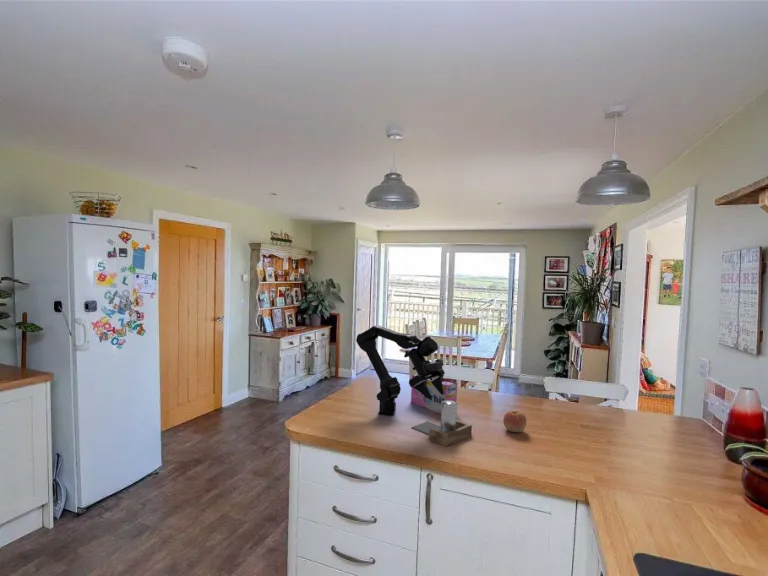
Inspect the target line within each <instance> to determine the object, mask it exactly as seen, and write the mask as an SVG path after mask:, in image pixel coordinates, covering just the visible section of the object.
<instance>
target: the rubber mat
mask: <svg viewBox="0 0 768 576" xmlns="http://www.w3.org/2000/svg"><path fill="white" fill-rule="evenodd" d="M430 428H434V429H436V430H439V431H440V429H441V425H437V424H435V423H434V422H433V423H432V422H430V421H425V422H422V423H419V424H416V425H413V426H411V428H410V429H413V430H415V431H418V432H420V433H423V434H425V435H428V436H429V429H430Z"/></svg>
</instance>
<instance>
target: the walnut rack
mask: <svg viewBox="0 0 768 576" xmlns="http://www.w3.org/2000/svg"><path fill="white" fill-rule="evenodd" d="M472 429H473V424H470V423H467V422H463V421H461V420H458V419H457V425H456V429H455V430H453V431H451V432H448V433H444V432H442V431H439V430H436V429H434V428H430V429H429V435H428V440H430V441H433V442H434V443H438V444H440V445H442V446H444V447H449V446H451V445H453V444H456V443H457V441H458V442H459V441H462V440H464V439H466V438H469V437H471V436H472Z"/></svg>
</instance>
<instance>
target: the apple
mask: <svg viewBox="0 0 768 576" xmlns="http://www.w3.org/2000/svg"><path fill="white" fill-rule="evenodd" d="M502 422H503V425H504V427H505V429H506V430H508V431H509V432H511V433H522V432H524V430H525V429H526V426H527V416H526V415H525V414H524V413H523V412H522V411H519V410H509V411H507V412H506V413H505V414H504V416H503V421H502Z"/></svg>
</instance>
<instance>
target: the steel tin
mask: <svg viewBox="0 0 768 576" xmlns="http://www.w3.org/2000/svg"><path fill="white" fill-rule="evenodd" d="M457 420H458V402H457V401H456V402H454V401H448V400H447V401H442V404H441V413H440V426H441V429H440V431H442V432H444V433H448V432H451V431H453V430H455V429H456V425H457Z"/></svg>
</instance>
